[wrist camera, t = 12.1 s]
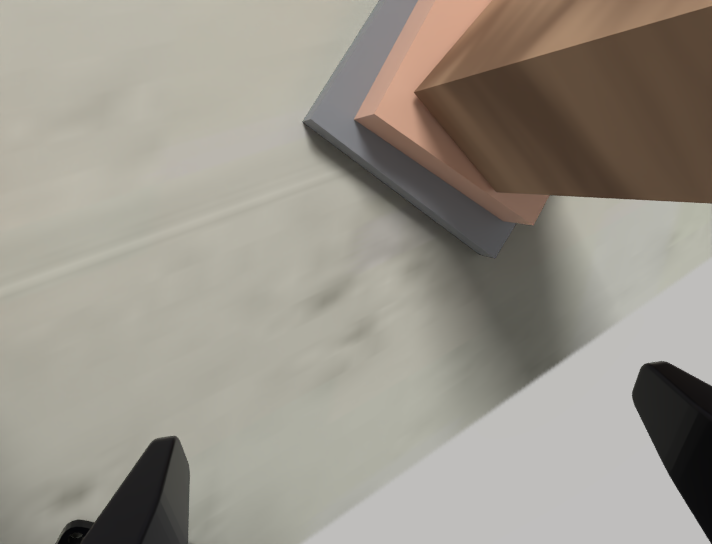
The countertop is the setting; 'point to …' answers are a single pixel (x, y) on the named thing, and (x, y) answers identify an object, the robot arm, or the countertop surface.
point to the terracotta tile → (414, 121)
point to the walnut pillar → (583, 98)
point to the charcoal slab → (381, 158)
